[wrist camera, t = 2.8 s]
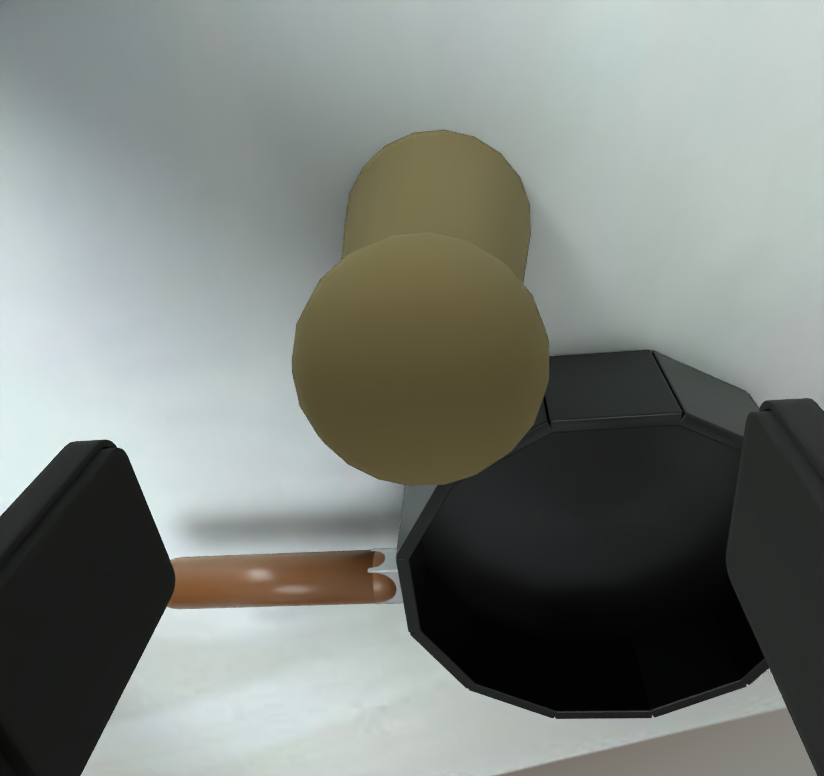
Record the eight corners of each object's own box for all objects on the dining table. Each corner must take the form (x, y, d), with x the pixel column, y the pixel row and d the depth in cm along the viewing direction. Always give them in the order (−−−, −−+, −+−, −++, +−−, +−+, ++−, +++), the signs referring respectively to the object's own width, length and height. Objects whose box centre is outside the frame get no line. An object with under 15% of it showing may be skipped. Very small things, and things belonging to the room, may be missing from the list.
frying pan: (228, 644, 33) (199, 722, 29) (128, 386, 26) (75, 449, 22) (755, 632, 30) (794, 717, 26) (817, 337, 23) (882, 400, 19)
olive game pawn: (518, 319, 23) (555, 544, 13) (345, 306, 23) (261, 519, 14) (544, 136, 20) (615, 260, 10) (344, 123, 20) (236, 234, 11)
